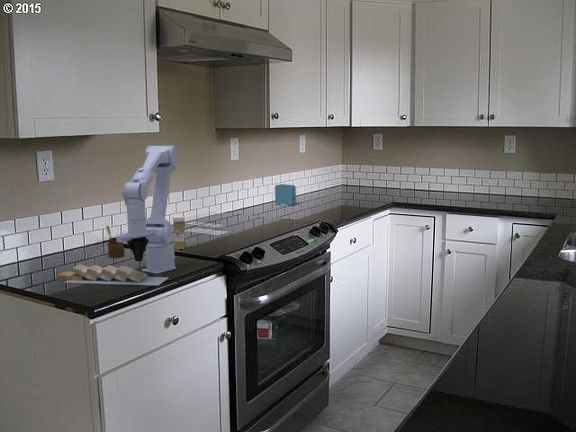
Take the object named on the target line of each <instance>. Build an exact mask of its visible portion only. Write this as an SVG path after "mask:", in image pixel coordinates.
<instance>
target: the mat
mask: <svg viewBox="0 0 576 432" xmlns="http://www.w3.org/2000/svg"><path fill="white" fill-rule="evenodd" d="M169 278H170V277H167V276H166V277H165V276H164V277H163V276H146V279H145V280H143V281H142V282H137V281H134V280H131V279H129V280H128V281H126V282H123V281H121V280H118V279H114V280H112V281H111V282H110V281H107V280H105V279H102V278H100V279H98V280H97V281H94V280H91V279H89V278H86V279H84V280H82V281H78V280H64V283H71V284H72V283H73V284H102V285H106V284H107V285H127V286H128V285H130V286H131V285H135V286H137V285H138V286H160V285H161V284H163V283H164V282H165V281H167V280H168V279H169Z"/></svg>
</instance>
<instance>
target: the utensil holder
mask: <svg viewBox="0 0 576 432" xmlns="http://www.w3.org/2000/svg"><path fill="white" fill-rule="evenodd" d="M105 226H106V230H107V234H108V235H109V238H108V245H107V250H108V257H109V258H111V257H112V258H117V259H118V258H123V257H124V256H125V244H124V242H122V243H119V242H117V239H116V236H118V233H119V230H120V234H119V235H122V228H117V231H118V232H117V231H116V233H115V234H116V235H115V236H113V237H112V236H111V234H112V233H111V230H110V226H109V225H105ZM122 256H123V257H122Z"/></svg>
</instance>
